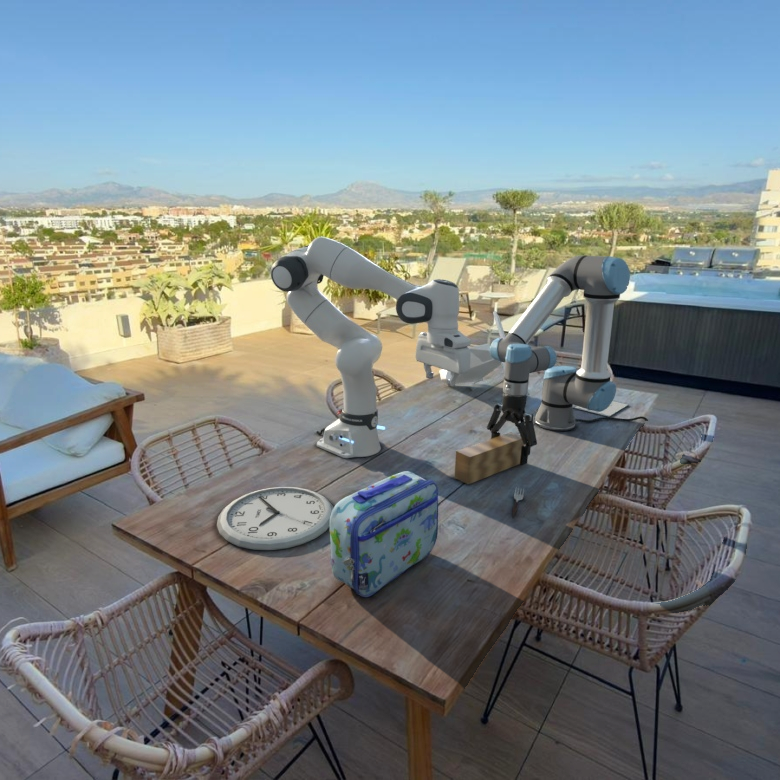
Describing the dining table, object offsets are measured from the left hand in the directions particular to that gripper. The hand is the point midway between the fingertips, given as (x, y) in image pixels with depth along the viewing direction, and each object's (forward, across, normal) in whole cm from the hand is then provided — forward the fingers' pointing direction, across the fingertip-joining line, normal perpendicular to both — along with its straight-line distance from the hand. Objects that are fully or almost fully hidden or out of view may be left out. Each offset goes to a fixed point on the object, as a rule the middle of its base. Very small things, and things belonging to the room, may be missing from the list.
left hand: (440, 381), depth 157 cm
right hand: (+27, +11, +22) cm, 37 cm away
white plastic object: (+29, -47, +72) cm, 90 cm away
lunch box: (+29, +31, -44) cm, 61 cm away
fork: (+29, +30, +2) cm, 42 cm away
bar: (+29, +11, +13) cm, 33 cm away
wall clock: (+29, -4, -53) cm, 61 cm away
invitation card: (+29, -2, +100) cm, 104 cm away
